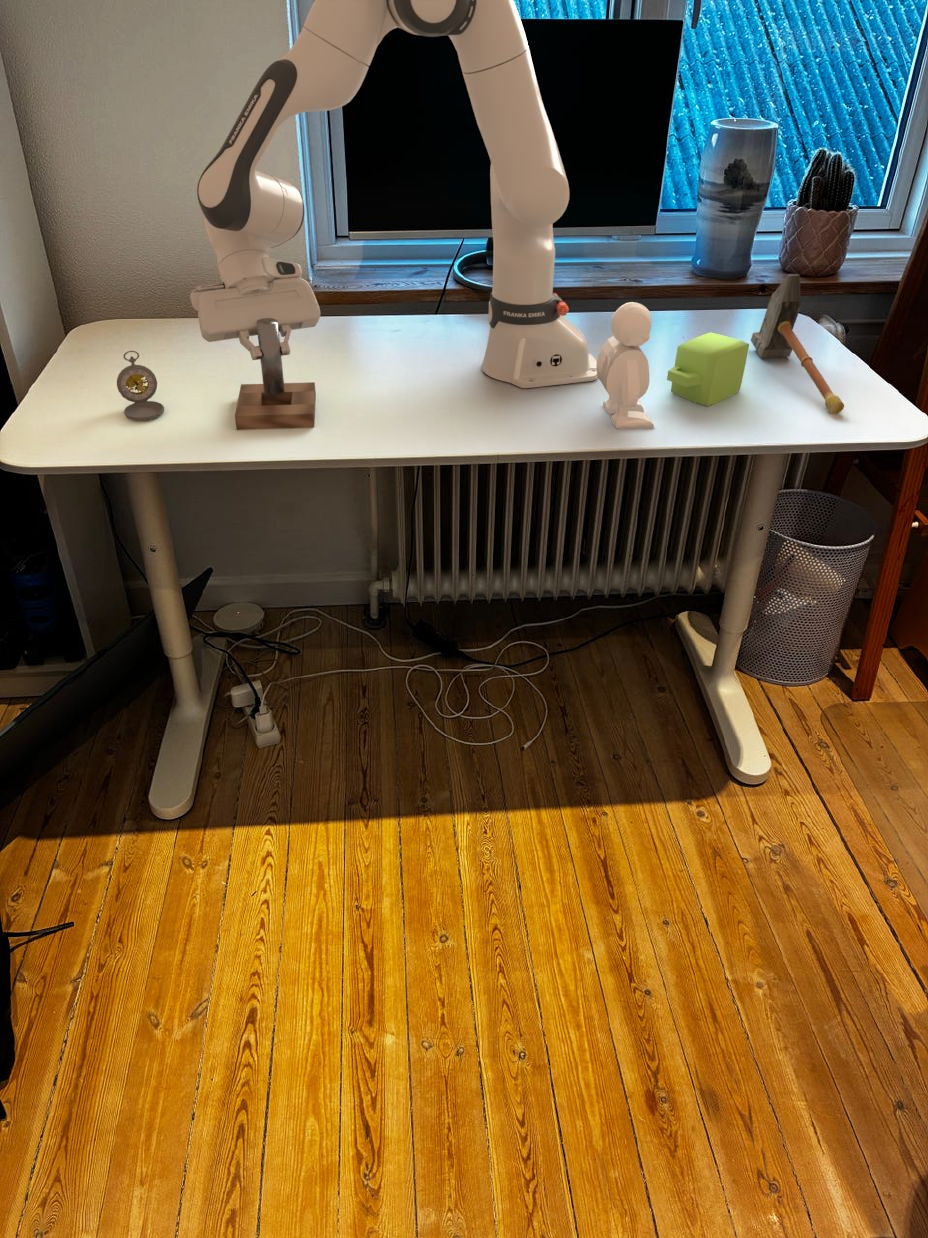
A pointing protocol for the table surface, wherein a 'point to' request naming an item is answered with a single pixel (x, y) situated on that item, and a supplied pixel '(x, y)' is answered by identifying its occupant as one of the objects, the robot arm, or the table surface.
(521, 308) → the robot arm
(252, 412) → the socket plate
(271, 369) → the steel pin
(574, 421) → the table surface
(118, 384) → the pocket watch
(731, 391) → the lime green lipped cube
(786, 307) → the hammer
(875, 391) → the table surface
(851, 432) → the table surface
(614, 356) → the toy robot
